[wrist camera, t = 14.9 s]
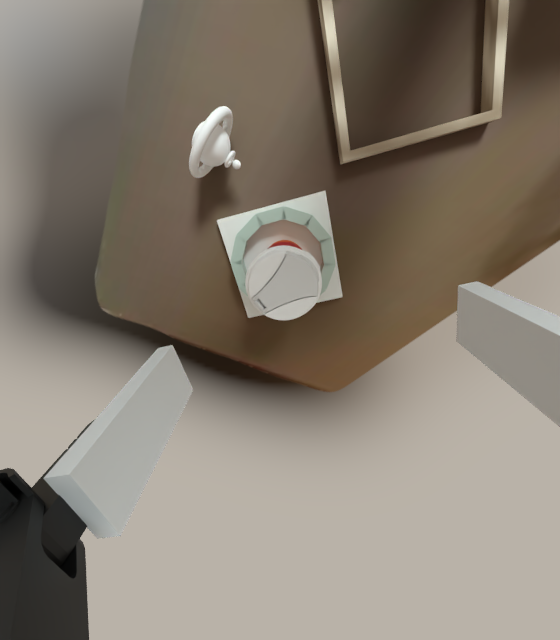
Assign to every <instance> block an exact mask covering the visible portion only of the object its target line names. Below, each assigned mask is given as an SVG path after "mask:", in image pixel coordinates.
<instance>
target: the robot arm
mask: <svg viewBox="0 0 560 640" xmlns="http://www.w3.org/2000/svg"><path fill="white" fill-rule="evenodd" d="M456 341H457V342H458V343H459V344H461V345H462V346H463V347H464V348H465V349H467V350H468V351H469V352H470V353H471V354H473V355H474V356H475V357H476V358H477V359H479V360H480V361H481V362H482V363H483V364H485V365H486V366H487V367H488V368H489V369H491V370H492V371H493V372H494V373H495V374H497V375H498V376H499V377H500V378H501V379H503V380H504V381H505V382H506V383H507V384H509V385H510V386H511V387H512V388H514V389H515V390H516V391H517V392H519V394H521V395H522V396H523V397H524V398H525V399H527V400H528V401H529V402H530V403H532V404H533V405H534V406H535V407H537V408H538V409H539V410H540V411H541V412H542V413H544V414H545V415H546V416H547V417H548V418H550V419H551V420H552V421H553V422H554V423H556V424H557V425H558V426H559V427H560V316H558V315H555V314H553V313H551V312H548V311H546V310H543V309H541V308H539V307H537V306H534V305H532V304H529V303H527V302H525V301H522V300H520V299H518V298H515V297H513V296H511V295H508V294H505V293H503V292H501V291H499V290H496V289H494V288H492V287H489V286H487V285H485V284H482V283H480V282H478V281H477V282H472V283H467V284H463V285H458V307H457V339H456ZM192 391H193V388H192V386H191V384H190V382H189V379H188V377H187V375H186V373H185V371H184V369H183V366H182V364H181V362H180V360H179V358H178V356H177V354H176V351H175V349H174V347H173V345H170V346H166V347H161V348H158V349H157V350H156V351H155V352H154V353H153V354H152V356H151V357H150V358H149V359H148V360H147V361H146V362H145V364H144V365H143V366H142V367H141V368H140V369H139V370H138V371H137V373H136V374H135V375H134V376H133V377H132V378H131V379H130V381H129V382H128V383H127V384H126V385H125V386H124V387H123V389H122V390H121V391H120V392H119V393H118V394H117V395H116V396H115V398H114V399H113V400H112V401H111V402H110V403H109V404H108V405H107V407H106V408H105V409H104V410H103V411H102V412H101V413H100V415H99V416H98V417H97V418H96V419H95V420H93V421H92V422H91V423H90V424H89V425H87V427H86V428H85V429H84V430H83V431H82V432H81V433H80V435H79V436H78V437H77V439H75V440H74V441H73V442H72V443H71V444H70V446H69V447H68V449H67V450H65V451H64V452H63V453H62V455H61V456H60V457H59V458H58V459H57V460H56V461H55V462H54V464H53V465H52V466H51V467H50V468H49V469H48V470H47V471H46V473H45V474H44V475H43V476H42V477H41V478H40V479H39V480H38V482H37V483H36V484H35V485H34V486H33V487H32V488H31V487H30V486H29V485H28V484H27V483H26V482H25V481H24V480H23V479H22V478H21V477H20V476H19V474H18V473H17V472H16V471H15V470H14V469H9V468H7V469H3V470H0V640H89V630H88V608H87V585H86V561H85V547H84V544H83V542H82V541H81V540H80V537H81V535H82V534H83V532H84V531H85V529H86V527H87V528H88V529H89V530H90V531H91V532H92V533H93V534H94V535H95V536H96V537H97V538H105V537H114V536H121V533H122V531H123V530H124V528H125V526H126V523H127V522H128V520H129V518H130V516H131V514H132V512H133V510H134V507H135V505H136V503H137V502H138V500H139V498H140V495H141V494H142V491H143V490H144V488H145V485H146V484H147V482H148V479H149V477H150V475H151V474H152V472H153V469H154V468H155V465H156V464H157V461H158V459H159V458H160V456H161V454H162V451H163V450H164V448H165V446H166V444H167V441H168V439H169V438H170V436H171V434H172V432H173V430H174V427H175V425H176V423H177V421H178V419H179V417H180V415H181V413H182V411H183V409H184V407H185V405H186V403H187V401H188V399H189V397H190V395H191V393H192Z"/></svg>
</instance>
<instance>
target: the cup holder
mask: <svg viewBox="0 0 560 640" xmlns="http://www.w3.org/2000/svg"><path fill="white" fill-rule="evenodd" d="M217 223H218V226H219V229H220V232H221V235H222V238H223V241H224V244H225V247H226V250H227V254H228V257H229V260H230V263H231V266H232V269H233V272H234V275H235V279H236V282H237V285H238V288H239V291H240V294H241V297H242V300H243V303H244V306H245V309H246V312H247V316H248V318H251V317H256V316H260V315H264V314H262V313H261V312H259V311H258V310H257V309H256V308H255V307H254V306H253V304H252V303H251V301H250V299H249V298H248V295H247V292H246V286H245V279H246V273H247V270H248V268H249V266H250V264H251V262H252V261H253V260H254V259H255V257H256V256H258V255H259V254H260V253H261V252H263V251H264V250H266V249H268V248H269V247H270V246H271V245H272V244H273V243H275V242H277V241H280V240H290V241H292V242H294V243H296V244H297V245H298V246H300V248H301V249H302V250H304V251H306V252H309V253H310V254H311V255H312V256H313V257H314V258H315V260H316V261H317V262H318V264H319V266H320V271H321V277H322V289H321V293H320V296H319V298H318V300H317V302H316V303H318V302H323V301H327V300H332V299H336V298H341V297H343V296H342V290H341V284H340V278H339V271H338V265H337V259H336V253H335V247H334V241H333V234H332V228H331V222H330V216H329V210H328V204H327V198H326V191H322V192H318V193H315V194H311V195H307V196H304V197H300V198H296V199H293V200H289V201H285V202H282V203H278V204H274V205H271V206H267V207H263V208H260V209H256V210H252V211H249V212H245V213H241V214H238V215H234V216H230V217H227V218H223V219H219V220H217Z"/></svg>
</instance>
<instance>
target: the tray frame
mask: <svg viewBox="0 0 560 640" xmlns="http://www.w3.org/2000/svg"><path fill="white" fill-rule="evenodd" d="M318 8H319V15H320V22H321V29H322V37H323V44H324V51H325V58H326V66H327V73H328V80H329V87H330V95H331V102H332V109H333V116H334V124H335V131H336V138H337V145H338V153H339V160H340V165H341V164H344V163H348V162H351V161H355V160H359V159H362V158H366V157H369V156H373V155H376V154H380V153H383V152H387V151H390V150H394V149H397V148H401V147H405V146H408V145H412V144H415V143H419V142H422V141H426V140H429V139H433V138H436V137H440V136H443V135H447V134H451V133H454V132H458V131H461V130H465V129H468V128H472V127H475V126H479V125H482V124H486V123H489V122H492V121H494V120H497V119H499V118H501V113H502V99H503V84H504V69H505V55H506V40H507V26H508V11H509V0H485V23H484V46H483V70H482V93H481V113H480V114H477V115H473V116H470V117H466V118H463V119H459V120H456V121H452V122H449V123H445V124H442V125H438V126H435V127H431V128H428V129H424V130H421V131H417V132H414V133H410V134H407V135H403V136H400V137H396V138H393V139H390V140H386V141H383V142H379V143H376V144H372V145H369V146H365V147H362V148H358V149H355V150H351V151H350V145H349V136H348V128H347V120H346V112H345V104H344V96H343V87H342V79H341V71H340V63H339V55H338V46H337V38H336V30H335V22H334V14H333V6H332V0H318Z"/></svg>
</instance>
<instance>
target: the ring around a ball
mask: <svg viewBox="0 0 560 640" xmlns="http://www.w3.org/2000/svg"><path fill="white" fill-rule="evenodd" d="M223 119H224V121H223V127H222V126H220V125H219V123H220V122H221V121H222V120H223ZM232 124H233V115H232V112H231V110H230V109H229V108H228V107H225V106H222V107H219V108H217V109H215V110H214V111H213V112H212V113H211V114H210V115H209V117H208V118H207V119H206V121H204V122H202V123H201V124H200V125H199V126H198V127H197V129H196V130H195V132H194V135H193V138H192V150H191V154H190V159H189V169H190V172H191V174H192V175H193V176H194V177H196V178H201V177H204V176H205V175H206V174H208V173H209V172H210V171H211V169H212V168H213V167H215V166H219V165H222V164H223V163H224V162H225V164H224V165H225V167H226V168H227V167H229V166H230V165H231V163H232V162H233V167H234V168H235V169H239V168H240V166H241V163H240V161H238V160H234V157H235V151H231V152H230V149H231V145H230V139H229V137H230V133H231V130H232ZM233 160H234V161H233ZM200 161H201V162H202V163H204V164H203V165H202V166H201V167H199V162H200Z"/></svg>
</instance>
